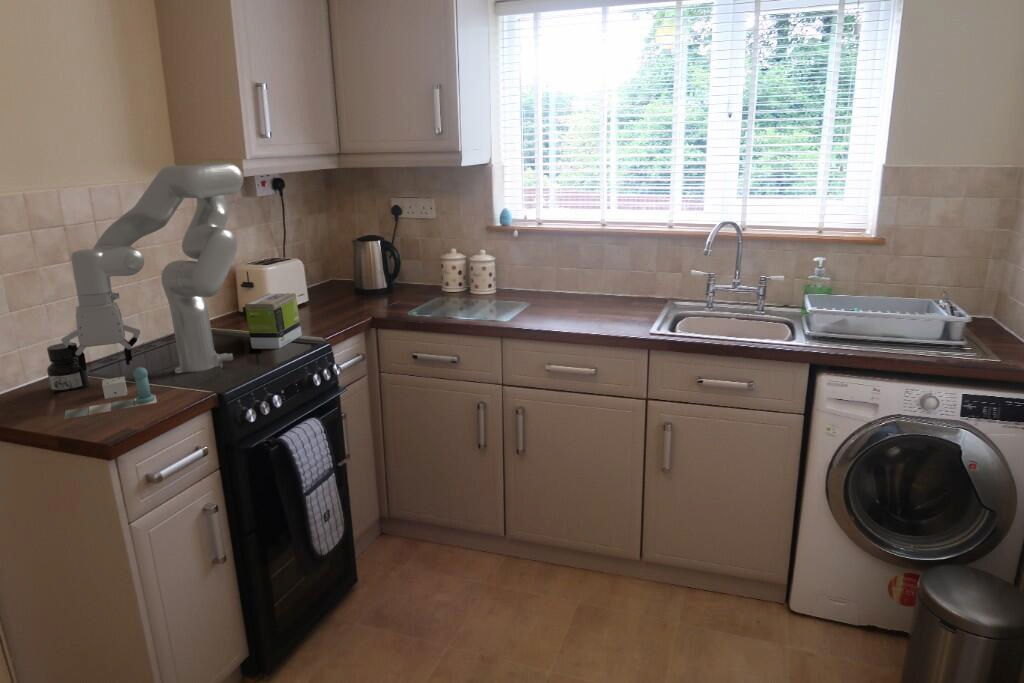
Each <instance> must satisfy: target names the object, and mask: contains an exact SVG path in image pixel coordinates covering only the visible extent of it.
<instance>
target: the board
mask: <svg viewBox="0 0 1024 683" xmlns="http://www.w3.org/2000/svg"><path fill="white" fill-rule="evenodd" d="M153 395H154V400H153V401H151V402H147V403H137V401H136V397H135V398H130V399H124V400H119V401H118V400H117V401H113V402H107V403H102V404H95V405H90V406H84V407H80V408H79V407H78V408H74V409H73V408H72V409H67V410H65V411H64V412H65V413H64V418H63V420H69V419H75V418H79V417H85V416H91V415H96V414H101V413H107V412H112V411H113V412H114V411H118V410H123V409H130V408H134V407H139V406H140V407H141V406H145V405H146V406H147V405H152V404H156V403H157V402H158V401H157V396H156V395H157V394H153Z"/></svg>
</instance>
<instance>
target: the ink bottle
mask: <svg viewBox="0 0 1024 683" xmlns="http://www.w3.org/2000/svg"><path fill="white" fill-rule="evenodd" d="M71 344H73V345H74V346H76V347H77V348H78V345H77V343H76V342H71ZM46 348H47V349H46V350H47V355H48V358H49V362H50V365H48V367H47V369H46V370H47V371H46V373H47V375H48V380H49V385H50V388H51V389H50V390H51V392H52V393H54V394H61V393H67V392H73V391H78V390H83V389H86V388H87V387H88V386H89V385H90V379H89V375H88V371H87V369H86V370H85V371H83V367H79V362H78V356H77V355H76V354H75V353H73V352H72V351H70V350H69V349H68V348H67V347H66V346H65V345H64V344H63V342H62V343H61V342H60V343H56V344H52V345H49V346H47V347H46Z"/></svg>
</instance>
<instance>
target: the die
mask: <svg viewBox="0 0 1024 683" xmlns="http://www.w3.org/2000/svg"><path fill="white" fill-rule="evenodd" d="M101 386H102V391H103V395H104V400H107V399H113V398H117V397H123V396H124V397H125V396H128V388H127V384H126V376H119V377H113V378H112V377H111V378H107V379H102V385H101Z"/></svg>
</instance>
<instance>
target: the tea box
mask: <svg viewBox="0 0 1024 683" xmlns="http://www.w3.org/2000/svg"><path fill="white" fill-rule="evenodd" d="M244 307H245V309H244V310H245V314H246V322H247V326H248V333H249V338H250V344H251V348H252V349H260V350H261V349H264V350H265V349H267V350H272V349H273V350H275V349H276V350H277V349H281V348H282V347H285V346H287V345H288V344H289V343H292V342H293V341H295V340H297V339H298V338H300V337H302V335H303V334H302V326H301V321H300V313H299V306H298V300H297V295H296V293H295V292H294V293H289V292H288V293H285V292H284V293H267V294H265V295H263V296H260V297H257V298H256V299H253V300H252V301H248V302H247V303H245V304H244Z"/></svg>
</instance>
